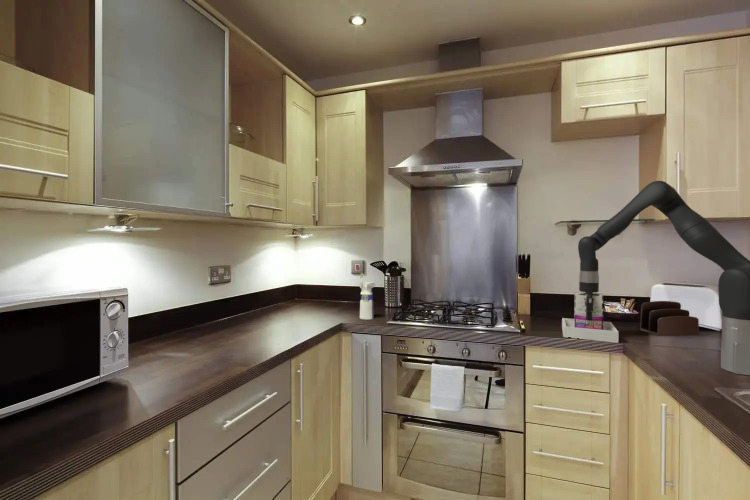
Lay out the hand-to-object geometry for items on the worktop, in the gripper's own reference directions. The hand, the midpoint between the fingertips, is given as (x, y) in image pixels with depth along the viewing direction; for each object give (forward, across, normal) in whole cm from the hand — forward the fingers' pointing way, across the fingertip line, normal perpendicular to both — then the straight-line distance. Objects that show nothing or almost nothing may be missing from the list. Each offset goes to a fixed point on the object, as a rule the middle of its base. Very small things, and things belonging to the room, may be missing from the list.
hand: (588, 318), depth 161 cm
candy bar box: (+5, 0, 0) cm, 5 cm away
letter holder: (+7, +21, -34) cm, 40 cm away
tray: (+7, 0, 0) cm, 7 cm away
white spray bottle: (+7, -14, +104) cm, 105 cm away
